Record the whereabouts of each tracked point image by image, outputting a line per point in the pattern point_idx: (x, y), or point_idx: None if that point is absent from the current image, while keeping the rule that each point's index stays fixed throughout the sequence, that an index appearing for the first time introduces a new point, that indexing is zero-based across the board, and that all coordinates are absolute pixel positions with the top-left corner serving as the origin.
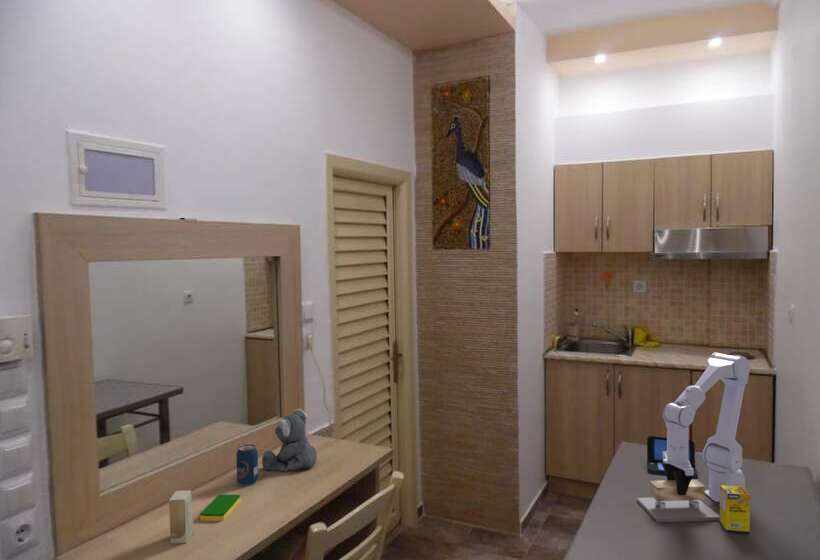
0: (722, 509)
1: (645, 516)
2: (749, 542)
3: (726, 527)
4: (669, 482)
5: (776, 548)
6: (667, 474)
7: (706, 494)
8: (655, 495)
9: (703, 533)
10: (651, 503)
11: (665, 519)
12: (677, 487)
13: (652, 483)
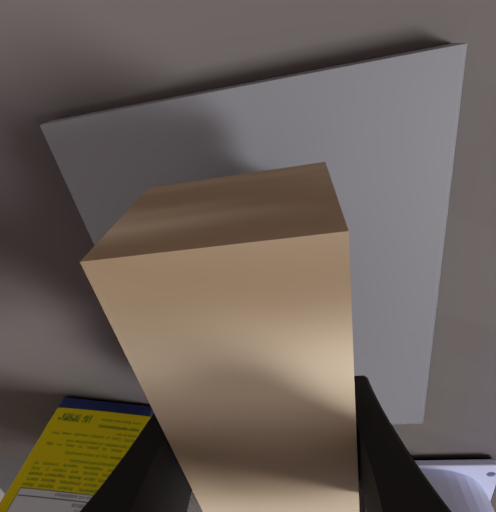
0: (74, 486)
1: (135, 43)
2: (13, 426)
3: (53, 416)
4: (291, 424)
5: (7, 466)
6: (379, 507)
7: (454, 461)
8: (176, 198)
9: (16, 319)
10: (326, 156)
11: (69, 181)
12: (148, 442)
13: (240, 242)
